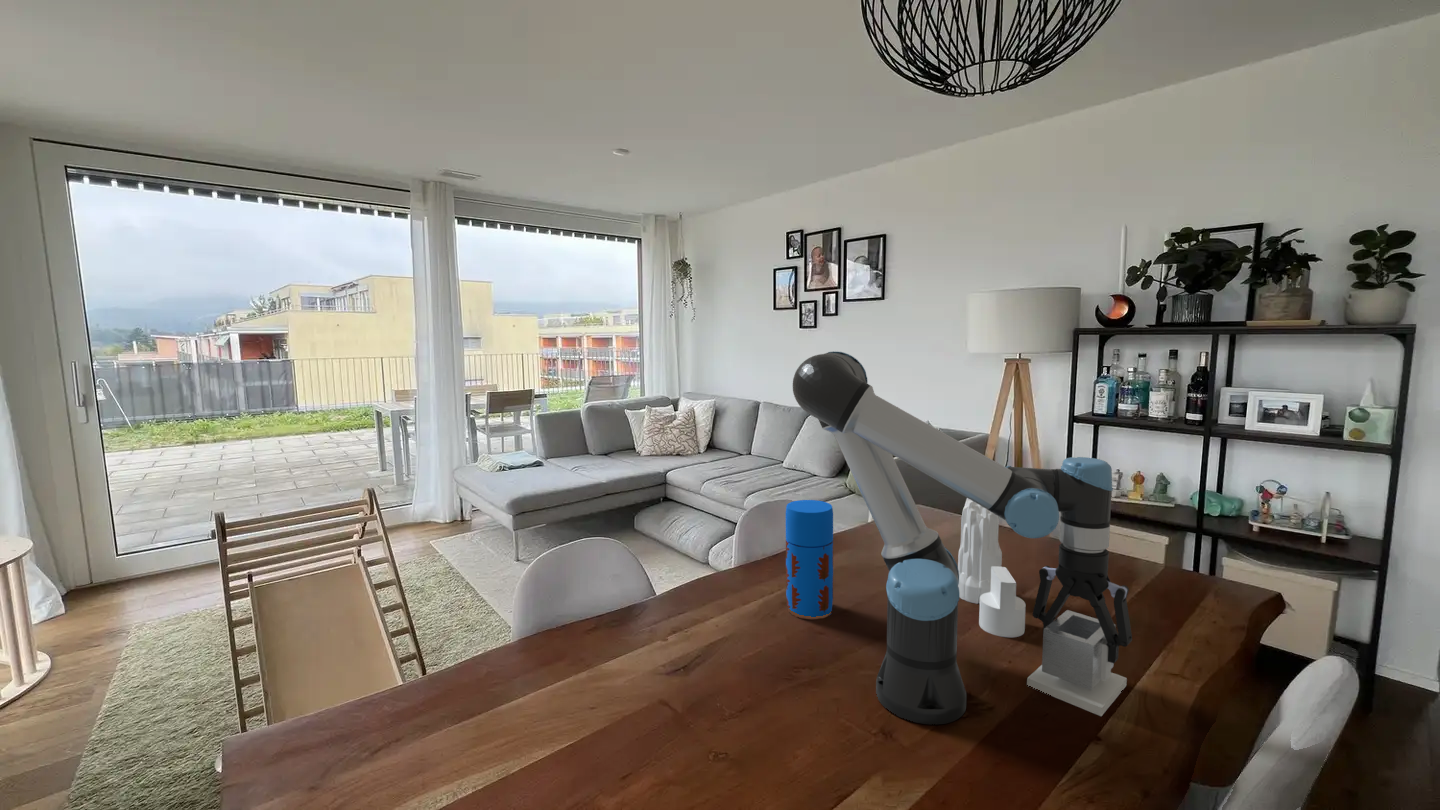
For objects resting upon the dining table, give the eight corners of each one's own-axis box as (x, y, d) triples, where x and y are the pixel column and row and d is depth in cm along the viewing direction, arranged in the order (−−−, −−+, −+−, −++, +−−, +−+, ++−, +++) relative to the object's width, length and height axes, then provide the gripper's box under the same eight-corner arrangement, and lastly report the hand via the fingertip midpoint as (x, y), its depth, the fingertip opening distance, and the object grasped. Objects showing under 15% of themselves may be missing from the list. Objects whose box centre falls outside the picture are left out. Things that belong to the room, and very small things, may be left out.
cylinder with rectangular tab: (1029, 639, 126) (1032, 584, 125) (984, 635, 128) (985, 581, 126) (1017, 619, 135) (1019, 567, 133) (975, 616, 137) (976, 565, 135)
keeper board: (1101, 716, 101) (1103, 677, 100) (1026, 685, 110) (1028, 649, 109) (1126, 685, 109) (1128, 649, 108) (1055, 659, 118) (1056, 625, 117)
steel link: (1091, 690, 102) (1093, 645, 101) (1041, 671, 108) (1043, 629, 107) (1113, 666, 109) (1115, 624, 108) (1065, 649, 115) (1067, 609, 114)
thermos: (831, 600, 146) (831, 499, 143) (835, 620, 136) (835, 513, 133) (786, 599, 147) (785, 499, 144) (786, 619, 137) (785, 512, 134)
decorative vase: (1010, 604, 142) (1014, 501, 139) (965, 605, 142) (968, 501, 139) (991, 585, 153) (994, 489, 150) (948, 585, 153) (951, 489, 150)
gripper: (1160, 555, 101) (1153, 683, 103) (1031, 527, 116) (1027, 639, 119) (1147, 567, 96) (1139, 701, 99) (1013, 536, 112) (1010, 652, 114)
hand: (1078, 667), depth 109 cm, fingers closed on steel link, 8 cm apart
